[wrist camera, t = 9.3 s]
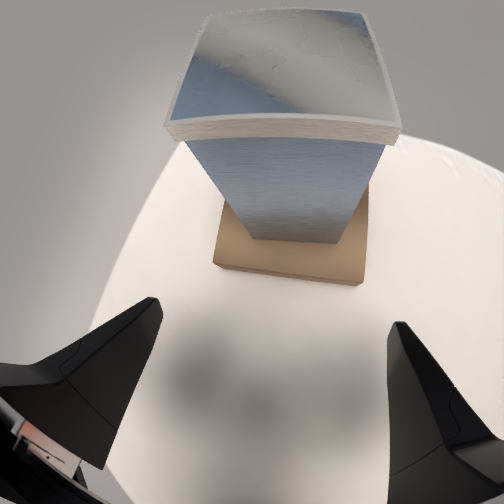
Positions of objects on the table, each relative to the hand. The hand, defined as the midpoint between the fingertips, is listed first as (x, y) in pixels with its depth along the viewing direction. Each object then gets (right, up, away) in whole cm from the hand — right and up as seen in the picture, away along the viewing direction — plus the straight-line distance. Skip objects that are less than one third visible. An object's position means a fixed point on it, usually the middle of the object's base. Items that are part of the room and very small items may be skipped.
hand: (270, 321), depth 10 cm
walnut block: (+3, +5, +12) cm, 13 cm away
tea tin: (+2, +6, +9) cm, 11 cm away
